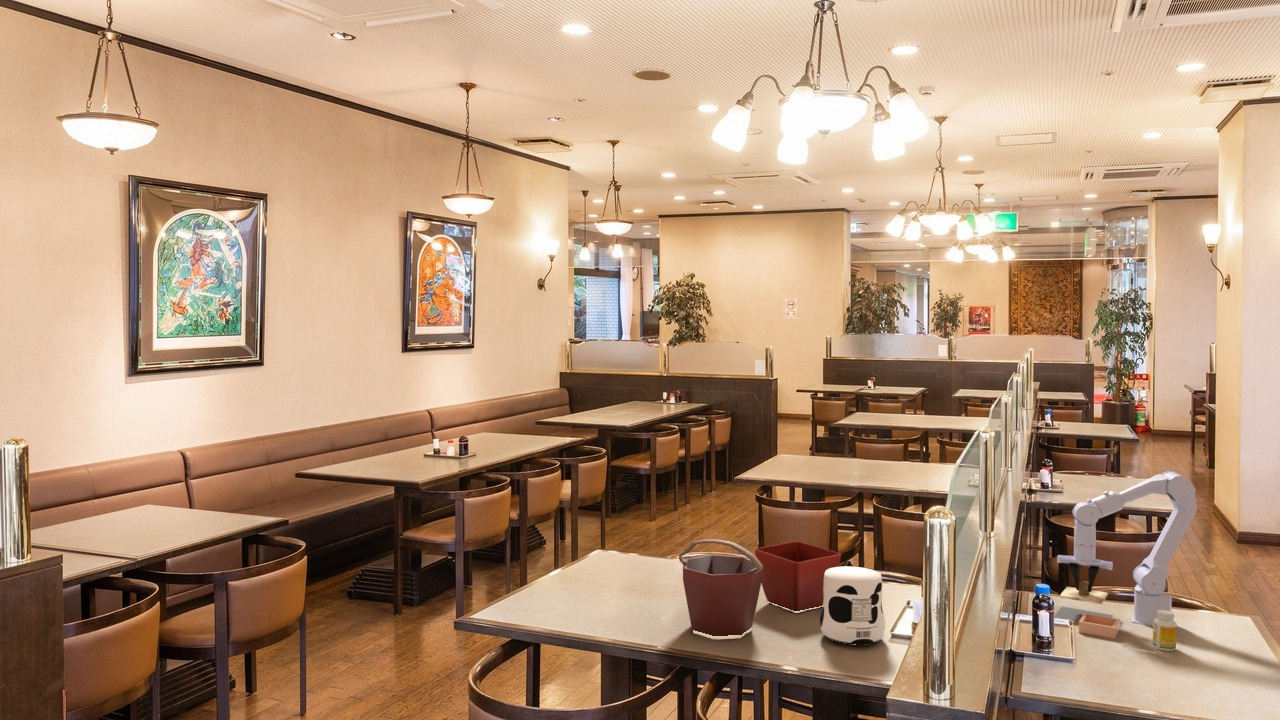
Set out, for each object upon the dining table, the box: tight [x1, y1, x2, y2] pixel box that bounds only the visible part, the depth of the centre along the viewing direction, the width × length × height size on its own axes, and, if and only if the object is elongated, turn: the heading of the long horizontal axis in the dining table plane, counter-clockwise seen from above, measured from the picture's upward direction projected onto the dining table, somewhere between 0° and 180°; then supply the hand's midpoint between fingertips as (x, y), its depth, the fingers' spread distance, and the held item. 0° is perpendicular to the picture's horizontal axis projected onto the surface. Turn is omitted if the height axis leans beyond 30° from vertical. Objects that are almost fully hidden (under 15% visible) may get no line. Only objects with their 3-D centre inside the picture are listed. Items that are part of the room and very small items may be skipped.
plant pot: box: [754, 540, 842, 611], centre depth 274 cm, size 19×19×17 cm
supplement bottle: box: [1152, 610, 1178, 652], centre depth 239 cm, size 5×5×10 cm
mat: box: [1054, 605, 1114, 622], centre depth 264 cm, size 14×12×1 cm
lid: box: [1059, 580, 1109, 605], centre depth 264 cm, size 11×11×4 cm
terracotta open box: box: [1078, 613, 1121, 640], centre depth 251 cm, size 9×9×4 cm
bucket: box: [677, 538, 763, 636], centre depth 253 cm, size 24×22×25 cm
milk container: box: [819, 565, 886, 646], centre depth 245 cm, size 17×17×18 cm
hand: (1084, 590), depth 264 cm, fingers closed on lid, 2 cm apart
